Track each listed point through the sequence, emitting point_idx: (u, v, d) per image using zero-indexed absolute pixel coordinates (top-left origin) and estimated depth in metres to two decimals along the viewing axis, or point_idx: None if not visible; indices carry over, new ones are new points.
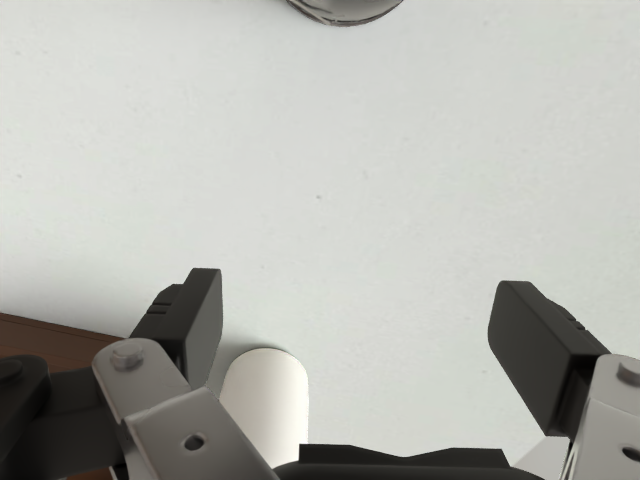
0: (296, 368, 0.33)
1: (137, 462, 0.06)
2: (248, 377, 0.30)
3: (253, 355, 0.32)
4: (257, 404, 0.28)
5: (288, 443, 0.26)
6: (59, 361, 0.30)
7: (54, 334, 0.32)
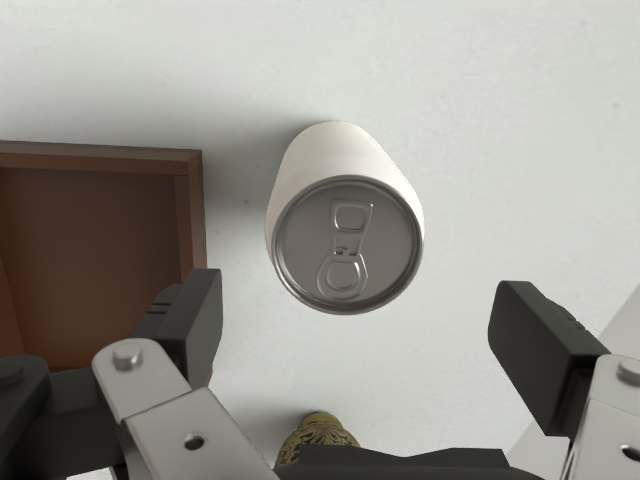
0: (367, 133, 0.25)
1: (137, 462, 0.06)
2: (308, 135, 0.23)
3: (309, 128, 0.25)
4: (327, 137, 0.20)
5: (382, 156, 0.18)
6: (69, 163, 0.23)
7: (61, 147, 0.25)
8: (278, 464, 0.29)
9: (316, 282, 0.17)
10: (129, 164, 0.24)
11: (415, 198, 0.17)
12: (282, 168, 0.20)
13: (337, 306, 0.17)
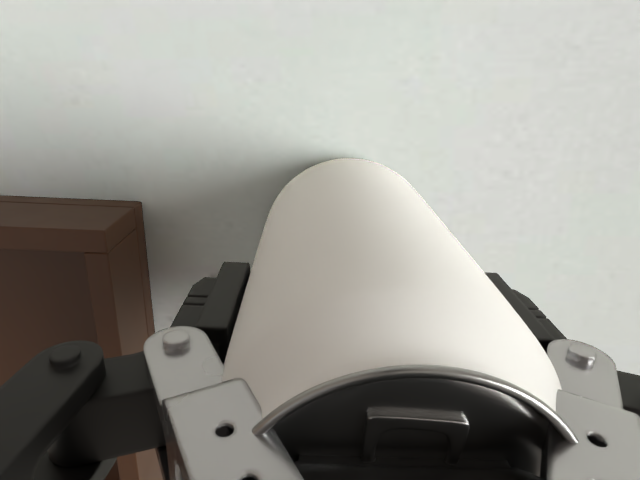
0: (404, 180, 0.15)
1: (173, 442, 0.06)
2: (308, 189, 0.13)
3: (310, 171, 0.16)
4: (344, 206, 0.11)
5: (463, 261, 0.09)
6: None
7: None
8: None
9: None
10: (7, 236, 0.14)
11: (556, 379, 0.07)
12: (258, 265, 0.11)
13: None
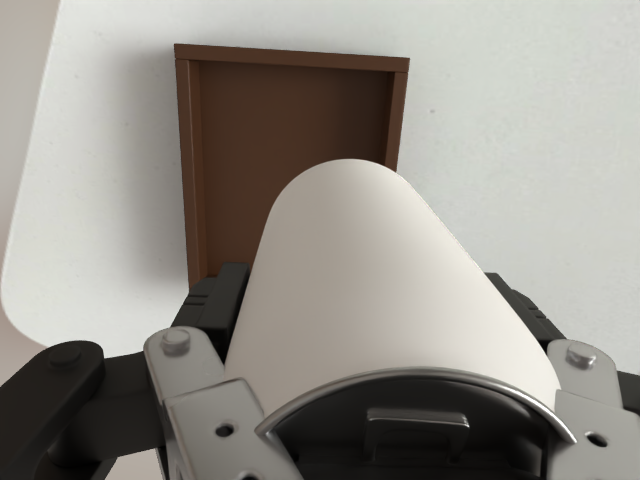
0: (404, 181, 0.15)
1: (173, 442, 0.06)
2: (309, 190, 0.13)
3: (310, 172, 0.16)
4: (343, 208, 0.11)
5: (463, 262, 0.09)
6: (302, 58, 0.25)
7: None
8: None
9: None
10: (356, 60, 0.26)
11: (555, 381, 0.07)
12: (258, 266, 0.11)
13: None
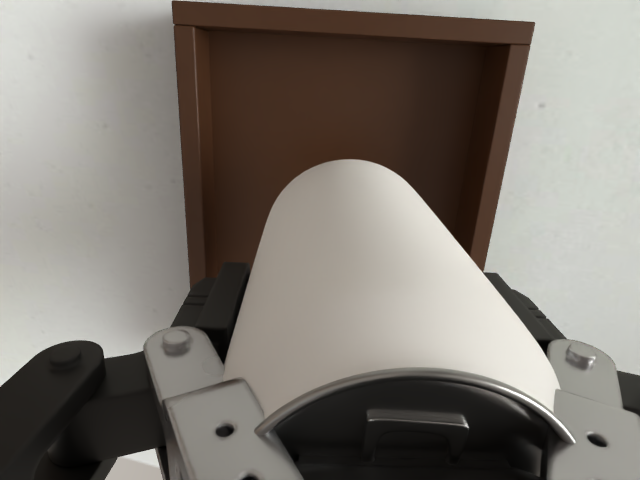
0: (404, 181, 0.15)
1: (173, 442, 0.06)
2: (308, 191, 0.13)
3: (310, 172, 0.16)
4: (343, 208, 0.11)
5: (462, 263, 0.09)
6: (370, 23, 0.17)
7: None
8: None
9: None
10: (453, 26, 0.17)
11: (555, 381, 0.07)
12: (258, 267, 0.11)
13: None
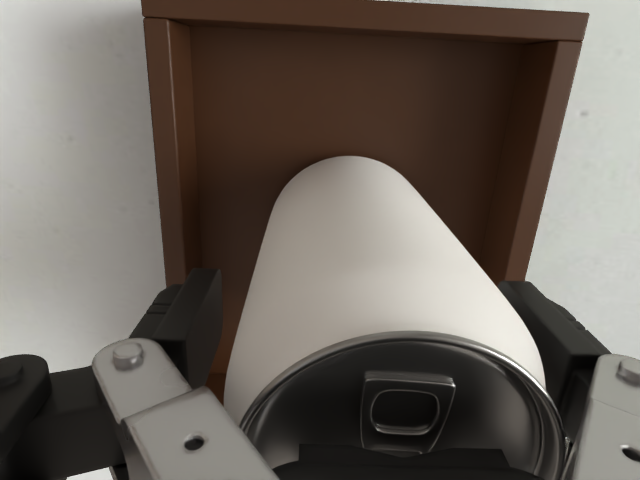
0: (401, 176, 0.16)
1: (137, 462, 0.06)
2: (310, 184, 0.14)
3: (312, 168, 0.16)
4: (344, 199, 0.11)
5: (453, 247, 0.09)
6: (386, 15, 0.13)
7: None
8: None
9: None
10: (488, 19, 0.13)
11: (535, 350, 0.08)
12: (264, 254, 0.11)
13: None
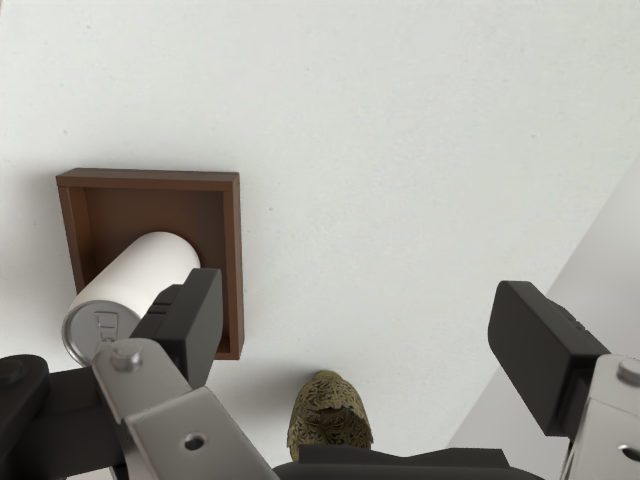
0: (177, 242, 0.37)
1: (137, 462, 0.06)
2: (127, 249, 0.35)
3: (139, 238, 0.37)
4: (124, 259, 0.32)
5: (143, 277, 0.30)
6: (152, 184, 0.34)
7: (142, 172, 0.36)
8: (296, 403, 0.40)
9: None
10: (192, 184, 0.34)
11: None
12: None
13: None
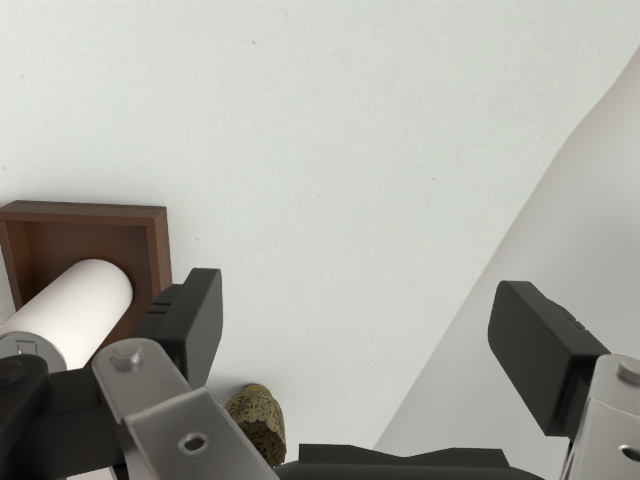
0: (108, 269, 0.40)
1: (137, 462, 0.06)
2: (59, 277, 0.38)
3: (73, 265, 0.41)
4: (51, 288, 0.36)
5: (64, 307, 0.34)
6: (81, 219, 0.38)
7: (75, 206, 0.39)
8: None
9: None
10: (118, 220, 0.38)
11: (68, 336, 0.32)
12: None
13: None
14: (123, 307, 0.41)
